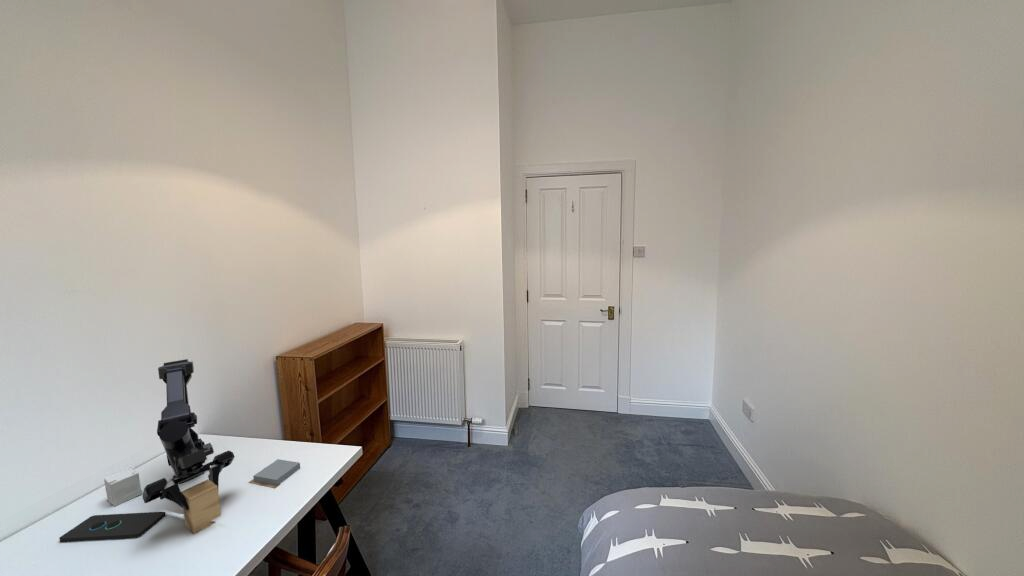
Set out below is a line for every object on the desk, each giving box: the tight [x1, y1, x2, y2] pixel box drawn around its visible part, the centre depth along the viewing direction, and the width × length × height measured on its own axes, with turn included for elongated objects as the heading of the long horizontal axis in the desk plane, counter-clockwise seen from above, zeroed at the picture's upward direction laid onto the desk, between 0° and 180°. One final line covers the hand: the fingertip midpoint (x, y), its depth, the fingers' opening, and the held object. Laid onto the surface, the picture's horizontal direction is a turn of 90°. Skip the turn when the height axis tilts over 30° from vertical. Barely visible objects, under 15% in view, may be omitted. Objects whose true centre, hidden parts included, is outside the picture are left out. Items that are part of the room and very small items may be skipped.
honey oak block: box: [181, 478, 222, 535], centre depth 96 cm, size 6×6×10 cm
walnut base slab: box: [247, 478, 281, 490], centre depth 115 cm, size 11×11×2 cm
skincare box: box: [103, 467, 143, 507], centre depth 107 cm, size 6×6×7 cm
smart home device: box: [58, 511, 167, 543], centre depth 95 cm, size 8×2×20 cm
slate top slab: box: [253, 458, 301, 486], centre depth 115 cm, size 9×9×2 cm
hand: (202, 502), depth 95 cm, fingers closed on honey oak block, 6 cm apart
